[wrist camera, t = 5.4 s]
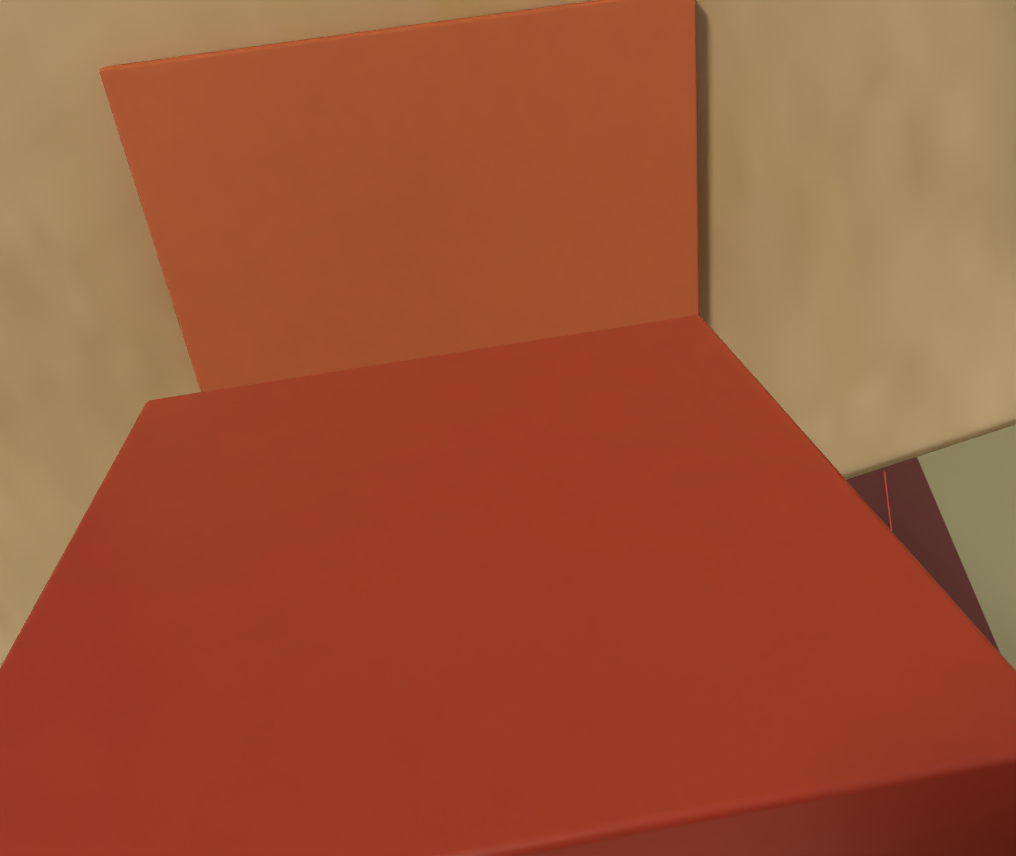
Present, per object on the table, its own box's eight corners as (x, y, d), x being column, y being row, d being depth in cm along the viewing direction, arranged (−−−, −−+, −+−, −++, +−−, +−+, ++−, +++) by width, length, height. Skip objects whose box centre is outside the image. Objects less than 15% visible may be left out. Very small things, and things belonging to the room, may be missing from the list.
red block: (704, 707, 10) (938, 1255, 6) (281, 783, 10) (199, 1414, 6) (699, 312, 8) (1086, 742, 4) (145, 398, 8) (-182, 979, 3)
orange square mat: (695, 475, 18) (702, 485, 18) (256, 548, 17) (253, 560, 17) (688, -13, 14) (696, -12, 13) (105, 66, 13) (97, 69, 13)
